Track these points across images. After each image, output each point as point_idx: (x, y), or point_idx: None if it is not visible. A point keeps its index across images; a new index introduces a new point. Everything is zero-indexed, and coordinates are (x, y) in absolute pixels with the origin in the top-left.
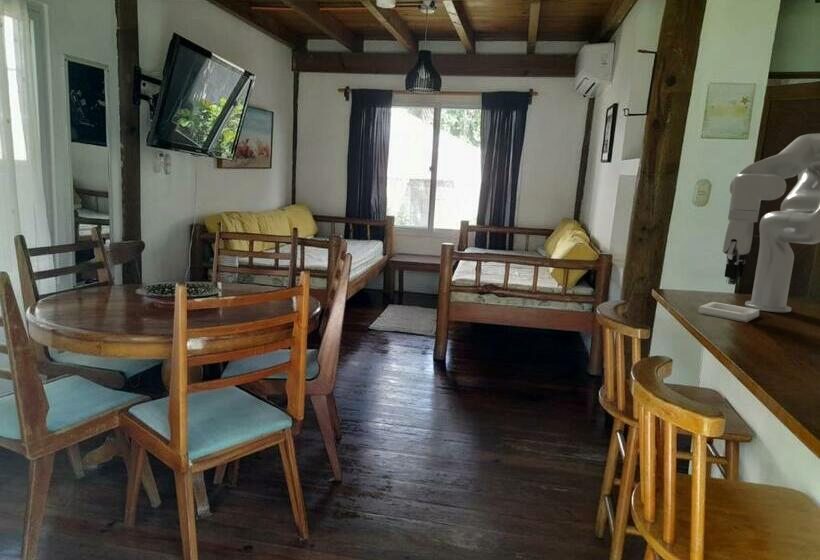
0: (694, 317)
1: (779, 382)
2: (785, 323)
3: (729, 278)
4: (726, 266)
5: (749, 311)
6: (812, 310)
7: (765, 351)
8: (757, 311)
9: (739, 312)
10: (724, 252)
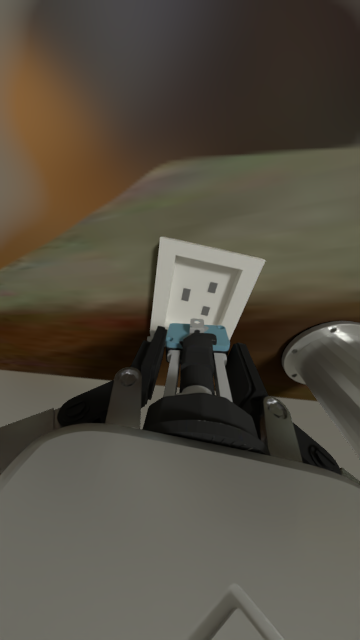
0: (109, 236)
1: None
2: None
3: (166, 336)
4: (145, 356)
5: None
6: None
7: (10, 341)
8: None
9: (219, 314)
10: (57, 433)
